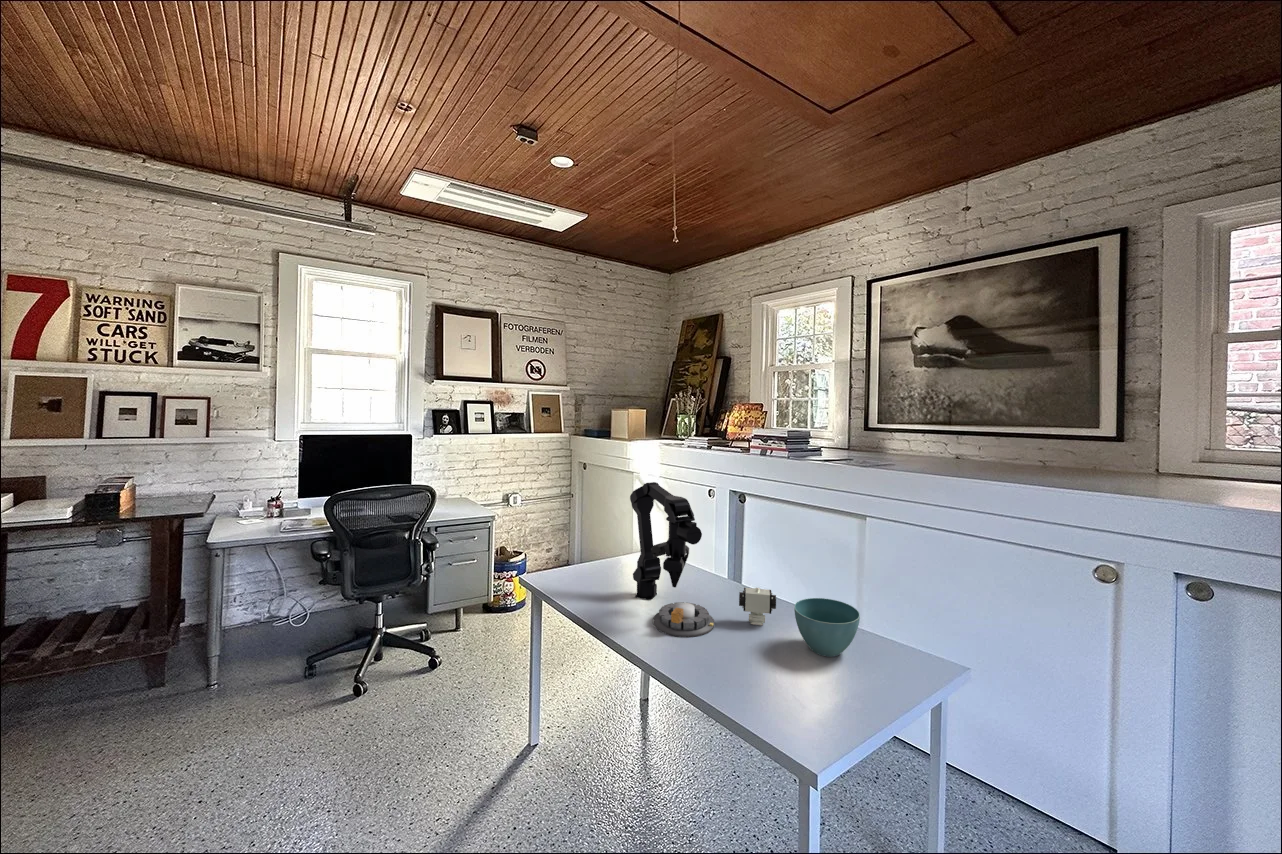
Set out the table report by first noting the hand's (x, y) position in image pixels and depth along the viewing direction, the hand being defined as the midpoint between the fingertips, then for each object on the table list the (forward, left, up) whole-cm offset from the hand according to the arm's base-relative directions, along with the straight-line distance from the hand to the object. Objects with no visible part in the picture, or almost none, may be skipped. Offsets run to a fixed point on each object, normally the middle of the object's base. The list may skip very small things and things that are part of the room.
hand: (676, 582), depth 177 cm
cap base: (+4, -3, -12) cm, 13 cm away
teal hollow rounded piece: (+48, -3, -13) cm, 49 cm away
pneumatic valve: (+26, +7, -13) cm, 29 cm away
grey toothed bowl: (+4, -3, -11) cm, 12 cm away
